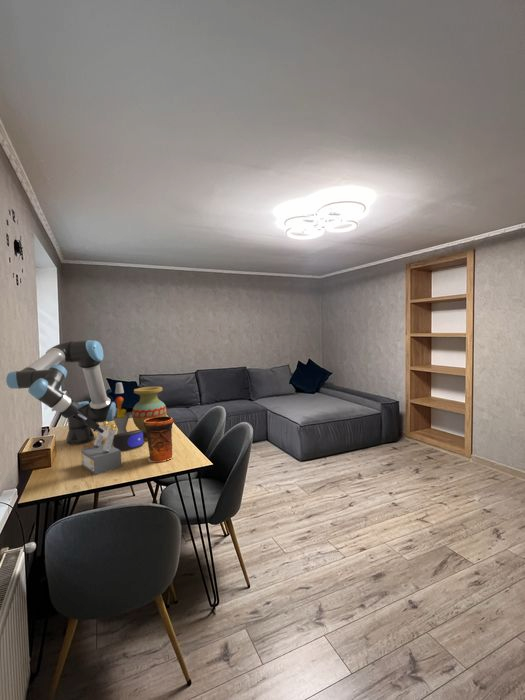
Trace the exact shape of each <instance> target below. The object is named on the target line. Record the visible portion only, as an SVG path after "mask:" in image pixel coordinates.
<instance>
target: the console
mask: <svg viewBox="0 0 525 700" xmlns="http://www.w3.org/2000/svg"><path fill="white" fill-rule="evenodd" d="M104 444H105V443H101V445H100V446H99V447H96V446H94V445H93V446H90V447H86V448H82V449H80V459H81V460H80V462H81V466H82V467H83V468H85V469H86V470H87V471H89V472H90V473H92V474H93V475H95V476H96V475H99V474H103V473H106V472H110V471H113V470H115V469H119V468H122V466H123V465H122V453H121V452H122V451H121V450H119V449H117V448H115V447H113V445H111V448H110V451H109V452H108V453H107V452H105V451H104V450H103V448H104Z"/></svg>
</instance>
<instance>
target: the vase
mask: <svg viewBox="0 0 525 700" xmlns="http://www.w3.org/2000/svg"><path fill="white" fill-rule="evenodd" d="M162 391H163V387H162V386H143V387H138V388H134V389H133V393H134V394H136V395H138V396H139V401H138V402H137V403H136V404H135V405H134V406H133V407H132V412H131V415H132V421H133V424H134V425H135V428H137V430H139V429H141V430H143V438H144V442H148V440H147V431H146V428H145V426H144V420H146V419H149V418H154V417H161V416H167V406H166V404H165V403H164V402H163V401H162V400H160V399H159V398H158V394H159V393H161V392H162Z"/></svg>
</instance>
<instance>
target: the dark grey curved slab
mask: <svg viewBox="0 0 525 700" xmlns="http://www.w3.org/2000/svg"><path fill="white" fill-rule="evenodd" d="M144 443H145V441H144V438H143V430H141V429H135V430H130V431H127V432H125V433H120V434H117V433H115V435H114V438H113V442H112V446H113V447H115V448H117V449H119V450H121V452H127V451H132V450H136V449H138V448H139V449H140V448H141V447H143V446H144Z"/></svg>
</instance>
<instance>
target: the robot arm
mask: <svg viewBox="0 0 525 700" xmlns="http://www.w3.org/2000/svg"><path fill="white" fill-rule="evenodd" d="M103 349H104V348H103V346H102V344H101V343H100V341H98V340H92V339H91V340H90V339H89V340H74V341H73V340H69V341H64V342H60V343H58V344H56V345H53V346H52V347H50V348H49V349H47V350H46V352H45V354H44V355H42V356H41V357H39V358H38V359H36V360H35V361H33V362H32V363H30V364H29V365H27V366H25V367H24V368H23V369H21V370H14V371H10V372H9V373H7V375H6V378H5V381H6V382H5V383H6V385H7V387H8V388H9V389H15V390H16V389H18V390H20V389H28V391H27V392H28V393H29V394H30V395H31V396H32V397H34V398H35V399H36V400H38V401H39V402H41V403H42V404H44V405H46V406H48V407H49V408H51V412H56V413H57V414H59V415H61V416H62V417H63V418H65V419H67V422H68V432H67V435H66V439H65V442H66V443H65V445H68V444H69V445H72V446H75V445H83V444H87V443H91V442H92V441H95V440H96V438H95V432H96V433H97V434H98V433H99V434H100V435H102V436H103V438H104V439H106V438H107V436H108V435H109V434H110V433H109V432H108V431H109V430H105V429H103V428H102V427H101V425H100V424H99V423H104V422H105V421H107V422H108V423H110V422H112V421H113V422H114V419H113V417H114V416H116V411H117V404H116V402H115V401H111V398H109V397H108V395H107V391H106V387H105V384H104V379H103V375H102V371H101V367H100V364H102V361H103V360H104V350H103ZM65 363H67V364H68V363H69V364H70V363H77V365H78V367H79V368H80V369H82V371H83V375H84V379H85V382H86V385H87V389H88V393H89V397H90V400H91V401H90V402H89V400H87V401H86V400H84V401H79V402H77V401H75V400H74V399H72V398H71V397H70V396H69V395H67V394H66V393H64V392H62V390H60V389H61V386H62V385H63V383H64V382H65V380H66V377H67V375H68V370H67V368H66V367H64V366H63V364H65ZM69 445H68V446H69Z"/></svg>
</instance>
